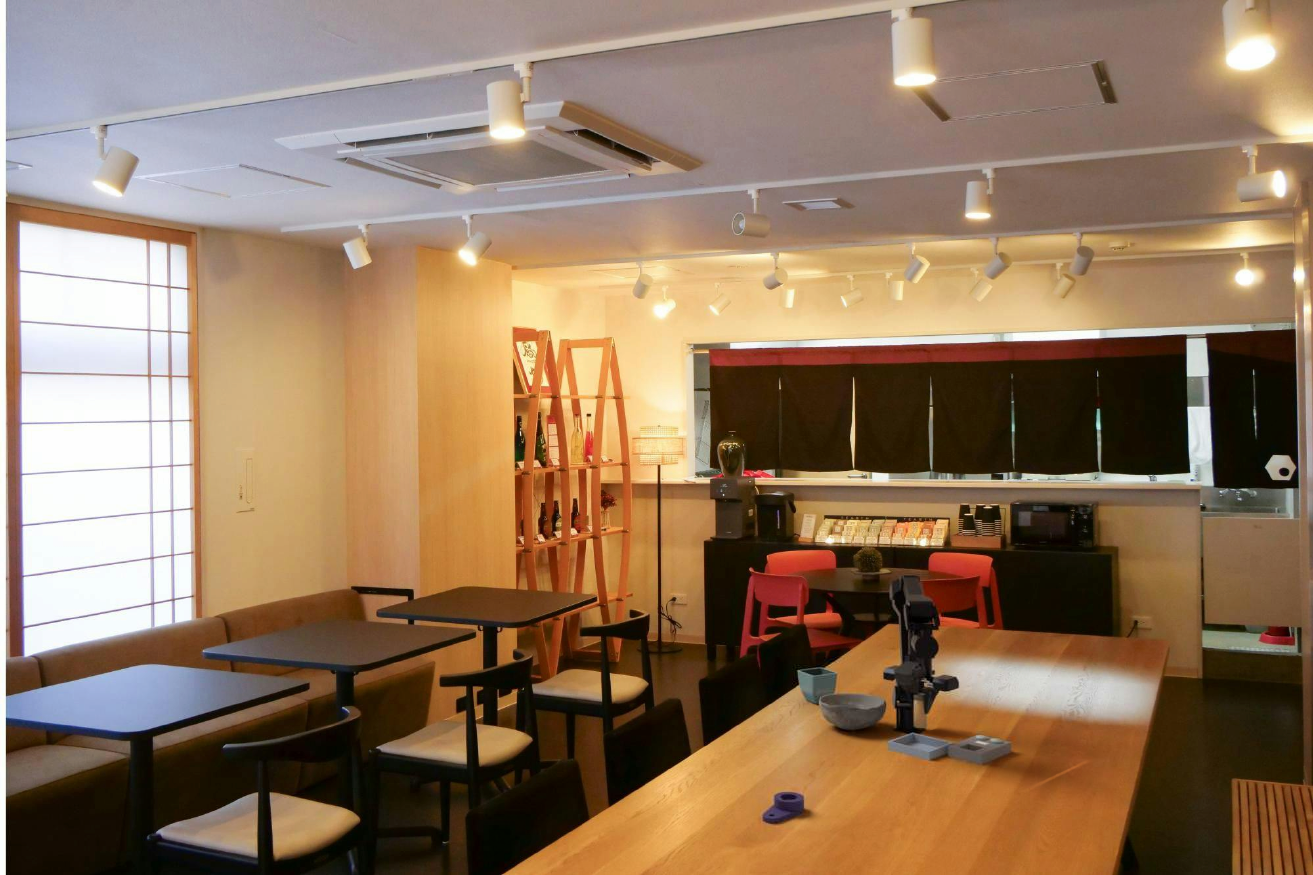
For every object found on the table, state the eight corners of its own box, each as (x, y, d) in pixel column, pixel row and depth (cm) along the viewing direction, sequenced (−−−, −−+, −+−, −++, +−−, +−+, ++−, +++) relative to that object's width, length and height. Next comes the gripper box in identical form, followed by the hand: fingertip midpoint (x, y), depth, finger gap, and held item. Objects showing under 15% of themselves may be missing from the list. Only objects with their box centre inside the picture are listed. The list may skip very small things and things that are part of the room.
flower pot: (796, 699, 317) (796, 669, 317) (821, 696, 321) (821, 666, 321) (813, 706, 309) (812, 675, 309) (838, 703, 313) (838, 672, 313)
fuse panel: (948, 758, 260) (948, 743, 260) (978, 746, 269) (978, 732, 269) (981, 766, 253) (981, 752, 253) (1010, 754, 263) (1010, 740, 263)
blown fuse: (910, 726, 265) (910, 694, 265) (918, 723, 267) (918, 692, 267) (922, 729, 263) (922, 696, 263) (930, 726, 265) (929, 694, 265)
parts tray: (887, 751, 266) (887, 741, 266) (912, 742, 273) (912, 732, 273) (929, 762, 257) (929, 751, 257) (953, 752, 264) (953, 742, 264)
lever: (784, 804, 229) (784, 789, 229) (809, 810, 226) (809, 795, 226) (753, 820, 220) (753, 805, 220) (779, 827, 216) (779, 811, 216)
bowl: (882, 719, 295) (882, 690, 295) (890, 737, 277) (890, 707, 277) (817, 718, 297) (817, 689, 297) (820, 736, 279) (820, 706, 279)
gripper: (870, 649, 266) (870, 711, 266) (934, 661, 253) (935, 726, 253) (895, 642, 274) (896, 703, 274) (960, 654, 260) (960, 717, 260)
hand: (920, 712), depth 265 cm, fingers closed on blown fuse, 3 cm apart
